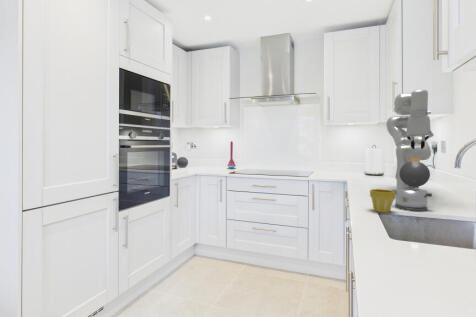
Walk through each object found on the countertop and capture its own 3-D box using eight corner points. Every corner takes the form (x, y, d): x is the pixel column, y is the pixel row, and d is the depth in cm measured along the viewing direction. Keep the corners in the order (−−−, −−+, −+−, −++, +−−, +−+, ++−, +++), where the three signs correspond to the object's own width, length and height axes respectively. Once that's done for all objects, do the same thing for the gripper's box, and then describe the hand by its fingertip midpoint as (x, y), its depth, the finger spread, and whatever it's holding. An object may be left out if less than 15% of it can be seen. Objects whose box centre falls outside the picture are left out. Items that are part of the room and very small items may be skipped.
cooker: (394, 203, 143) (395, 186, 142) (433, 208, 132) (433, 189, 131) (388, 207, 132) (388, 189, 132) (429, 213, 121) (430, 193, 121)
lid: (398, 186, 140) (399, 186, 141) (428, 189, 131) (429, 189, 132) (400, 157, 141) (401, 157, 142) (430, 157, 133) (430, 158, 133)
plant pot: (388, 208, 130) (388, 188, 130) (399, 214, 120) (399, 192, 120) (366, 208, 131) (366, 188, 131) (374, 213, 121) (375, 192, 121)
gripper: (438, 113, 138) (437, 149, 139) (402, 115, 149) (401, 148, 150) (437, 112, 133) (436, 149, 134) (399, 114, 144) (398, 148, 145)
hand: (417, 148), depth 142 cm, fingers open, 3 cm apart
